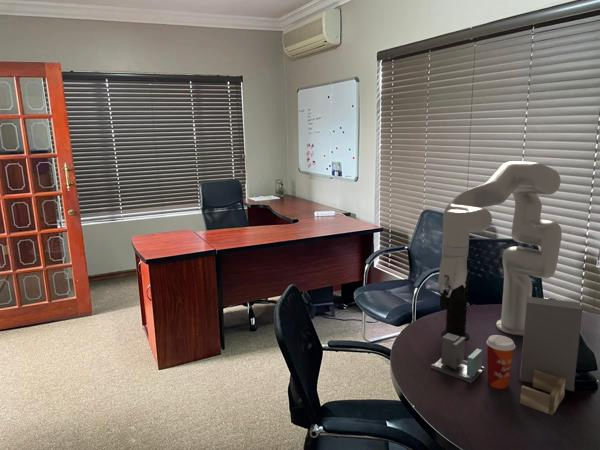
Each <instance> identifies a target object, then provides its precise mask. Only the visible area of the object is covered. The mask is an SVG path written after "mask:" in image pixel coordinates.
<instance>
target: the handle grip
mask: <svg viewBox="0 0 600 450" xmlns="http://www.w3.org/2000/svg"><path fill="white" fill-rule="evenodd" d="M469 271H470V270H469V269H468V268H467V277H466V279H467V280H466V282H465V284H466V287H465V299H464V300H463V301H462V300H458V299H455V298H454V289H453V290H452V292H451V294H450V297H451V309H450V310H447V309H446V315H445V316H446V319H445V329H444V330H442V332H441V333H440V335H441V338H442V337H443V336H444V335H446V334H447V333H450V334H453V335H457V336H460V338H461V337H465V342H467V341H469V340H470V339H471V336H470V335H469V333H467V332H466V329H467V327H466V325H467V316H468V315H467V313H468V312H467V309H468V291H469V289H468V288H469V284H468V283H469ZM448 287H450V286H448ZM447 293H448V291H447Z"/></svg>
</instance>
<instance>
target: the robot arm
mask: <svg viewBox="0 0 600 450" xmlns="http://www.w3.org/2000/svg"><path fill="white" fill-rule="evenodd" d="M560 186H561V176H560V173H559V172H558V170H556V169H554V168H552V167H551V166H550V167H549V166H547V165H545V164H543V163H540V162H534V161H507V162H504V163H502V164H501V165H500V166H499V167H498V168H497V169H496V170H495V172H493V173H492V175H491V176H490V177H488V179H487V180H486V181H485V182H484V183H482V184H480V185H477V186H474V187H472V188H470V189H467V190H465V191H463V192H461V193H459V194H458V195H455V197H454V198H453V199H452V200H451V201H450V202H449V203H448V205H447V206H446V208H445V209H444V212H443V214H442V215H443V216H442V219H443V221H442V242H441V243H442V245H441V255H442V256H441V259H440V263H439V264H440V265H439V272H438V273H439V274H438V283H437V284H438V285H437V286H438V292H439V296H440V297H439V307H440V309H445V310H446V311H447V310H450V309H451V297H450V294H451V292H452V290H453V289H454V298H455V299H458V300H462V301H463V300H464V299H465V287H466V284H465V282H466V280H467V279H466V277H467V269H468V266H467V265H468V264H467V262H468V261H467V260H468V259H467V258H468V257H469V248H470V247H469V246H470V245H469V244H470V233H482V232H484V231H486V230H487V229H489V228H490V226H491V225H492V220H493V216H492V213H491V212H490V211H489V210H488V209H486V208H488V207H494V206H498V205H501V204H503V203H505V202H506V200H508V198H509V197H510V196H511V195H512V196H513V199H514V204H515V205H514V212H513V219H512V226H511V233H510V234H511V238H512V240H513V241H514V242H517V243H521V244H526V245H531V246H535V247H540V250H539V249H534V248H531V247H526V246H525V247H524V246H519V245H517V246H514V245H513V246H509V247H507V248H506V249H505V250H504V251H503V254H502V266H503V290H502V305H501V317H500V319H499V320H497V321H496V326H495V327H497V329H498V330H500V331H501V332H503V333H505V334H509V335H514V336H523V335H524V323H525V311H526V299H527V297H533V296H532V295H533V283H532V280H531V277H530V276H532V277H534V278H540V279H551V278H552V277H553V276H554V274H555V273H556V270H557V265H558V261H559V254H560V249H561V243H562V237H563V236H562V233H563V232H562V228H561V225H560V224H559V223H558V222H556V221H553V220H550V219H549V220H548V219H541V216H542V215H541V214H542V209H543V207H542V206H543V204H542V201H541V198H540V197H539V195H543V196H544V195H545V196H546V195H547V196H548V195H549V196H550V195H553V194H555V193H556V192H557V191H558V190H559V189H560ZM448 286H450V287H448ZM447 292H448V293H447Z"/></svg>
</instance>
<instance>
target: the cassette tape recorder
mask: <svg viewBox="0 0 600 450" xmlns="http://www.w3.org/2000/svg"><path fill="white" fill-rule="evenodd" d="M582 316H583V307H582V304H581V303H580V302H576V301H575V302H574V301H568V300H567V301H566V300H558V299H551V298H550V299H549V298H544V297H535V296H532V297H527V299H526V311H525V323H524V335H522V337H523V338H522V348H521V361H520V363H521V364H520V367H519V381H520V382H521V383H522V382H523V383H524V382H526V383H530V384H533V375H534V370H537V371H541V372H544V373H547V374H550V375H553V376H556V377H559V378H561V377H562V376H565V377H566V386H565V391H566V390H567V391H569V392H575V380H576V370H577V362H578V353H579V352H578V351H579V344H580V335H581V328H582V327H581V326H582Z"/></svg>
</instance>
